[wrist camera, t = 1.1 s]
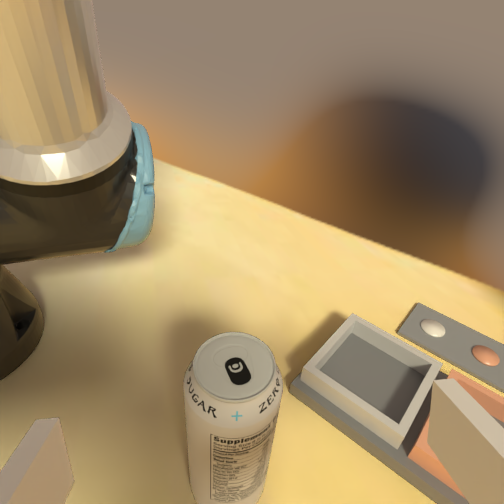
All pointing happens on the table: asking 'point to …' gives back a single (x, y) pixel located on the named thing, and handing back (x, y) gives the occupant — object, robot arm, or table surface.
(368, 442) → the socket plate
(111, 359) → the table surface
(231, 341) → the energy drink can
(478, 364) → the grey button plate
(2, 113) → the robot arm
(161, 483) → the table surface
